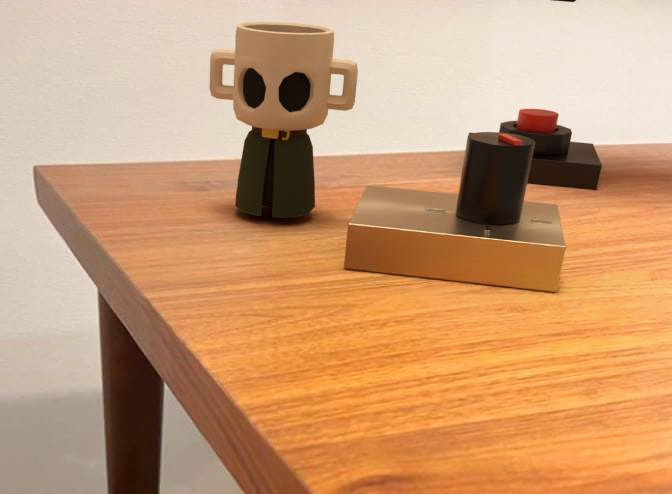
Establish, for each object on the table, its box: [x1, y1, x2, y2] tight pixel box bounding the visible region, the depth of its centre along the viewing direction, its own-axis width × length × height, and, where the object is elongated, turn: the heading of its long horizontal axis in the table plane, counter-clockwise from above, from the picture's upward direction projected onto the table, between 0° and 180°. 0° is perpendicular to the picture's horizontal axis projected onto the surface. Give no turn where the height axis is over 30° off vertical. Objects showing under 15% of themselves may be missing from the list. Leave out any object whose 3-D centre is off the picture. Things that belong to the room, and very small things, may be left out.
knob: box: [456, 131, 535, 224], centre depth 65 cm, size 4×4×5 cm
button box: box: [468, 120, 603, 191], centre depth 91 cm, size 12×10×4 cm
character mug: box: [209, 21, 359, 219], centre depth 72 cm, size 11×7×13 cm, turn 77°
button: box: [516, 108, 560, 132], centre depth 90 cm, size 4×4×2 cm
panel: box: [343, 185, 567, 293], centre depth 68 cm, size 14×11×3 cm
